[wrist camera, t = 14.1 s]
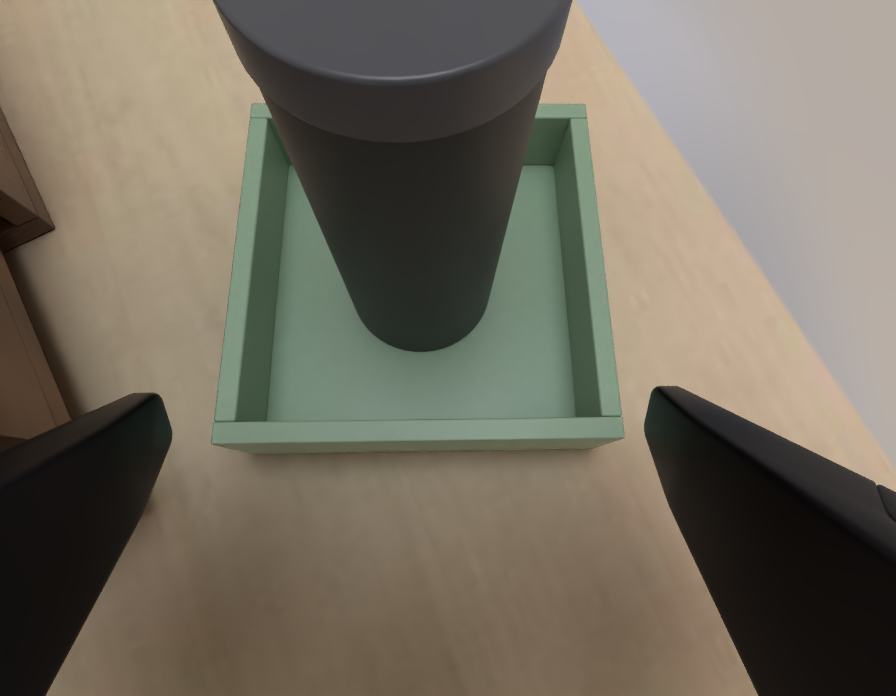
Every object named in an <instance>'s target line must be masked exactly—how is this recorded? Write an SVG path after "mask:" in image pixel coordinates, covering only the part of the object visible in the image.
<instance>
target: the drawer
mask: <svg viewBox="0 0 896 696" xmlns="http://www.w3.org/2000/svg"><path fill="white" fill-rule="evenodd" d="M69 421H71V419H70V416H69V414H68V412H67V409H66V407H65V404H64V402H63V400H62V397H61V395H60V392H59V390H58V387H57V385H56V383H55V380H54V378H53V375H52V373H51V370H50V368H49V366H48V363H47V361H46V358H45V356H44V354H43V351H42V349H41V346H40V344H39V341H38V339H37V337H36V334H35V332H34V329H33V327H32V325H31V322H30V320H29V317H28V315H27V312H26V310H25V308H24V305H23V303H22V300H21V298H20V296H19V293H18V291H17V288H16V286H15V283H14V281H13V279H12V276H11V274H10V271H9V269H8V267H7V264H6V262H5V259H4V257H3V254H2V252H1V250H0V452H1V451H3V450H6V449H8V448H10V447H12V446H15V445H17V444H19V443H21V442H24V441H26V440H28V439H30V438H33V437H35V436H37V435H40V434H42V433H44V432H46V431H49V430H51V429H53V428H55V427H58V426H60V425H62V424H64V423H67V422H69Z"/></svg>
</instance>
